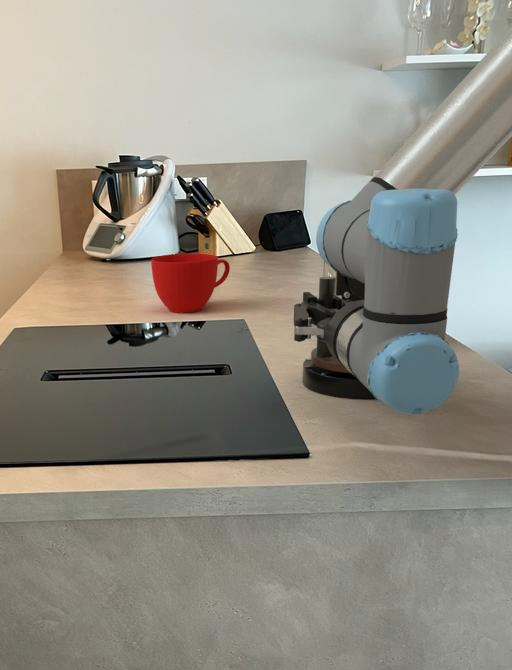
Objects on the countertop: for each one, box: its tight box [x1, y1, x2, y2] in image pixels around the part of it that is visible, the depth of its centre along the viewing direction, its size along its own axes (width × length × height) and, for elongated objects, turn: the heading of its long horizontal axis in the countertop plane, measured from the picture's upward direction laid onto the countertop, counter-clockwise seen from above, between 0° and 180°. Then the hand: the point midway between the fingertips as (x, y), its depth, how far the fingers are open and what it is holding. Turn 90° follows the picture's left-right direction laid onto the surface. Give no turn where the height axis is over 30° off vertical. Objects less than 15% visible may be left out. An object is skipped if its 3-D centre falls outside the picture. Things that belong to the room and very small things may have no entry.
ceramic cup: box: [150, 253, 231, 314], centre depth 155 cm, size 13×17×10 cm
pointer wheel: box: [310, 276, 351, 373], centre depth 101 cm, size 13×13×11 cm
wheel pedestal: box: [302, 356, 377, 400], centre depth 104 cm, size 15×15×3 cm
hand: (315, 301), depth 106 cm, fingers closed on pointer wheel, 2 cm apart
